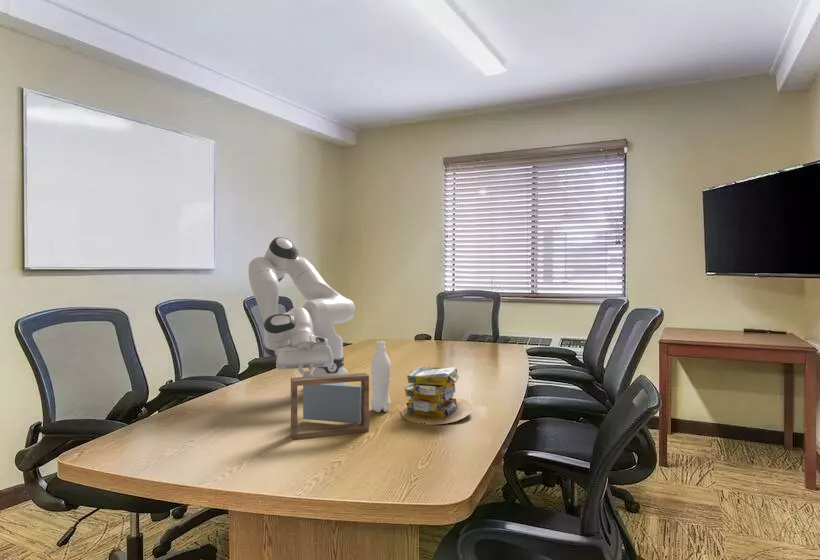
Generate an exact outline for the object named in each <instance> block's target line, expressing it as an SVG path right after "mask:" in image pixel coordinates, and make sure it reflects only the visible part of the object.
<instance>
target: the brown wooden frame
mask: <svg viewBox="0 0 820 560" xmlns="http://www.w3.org/2000/svg"><path fill="white" fill-rule="evenodd" d="M343 382H348V383H353V382H360V386H361V423H344V424H337V425H328V426H327V425H326V426H317V427H316V426H315V427H307V428H298V387H301V386H303V385H316V384H329V383H343ZM369 431H370V375H369V374H368V373H367V372H357V373H347V374H340V375H325V376H311V377H302V376H301V377H300V376H298V377H290V436H292V437H291V439H292V440H300V439H299V438H301V439H308V438H309V437H310V438H316V437H318V438H320V437H325V436H326V437H327V436H328V437H329V436H336V434H337V435H344V434H345V435H346V434H353V433H354V434H355V433H362V432H363V433H364V432H369Z"/></svg>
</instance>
